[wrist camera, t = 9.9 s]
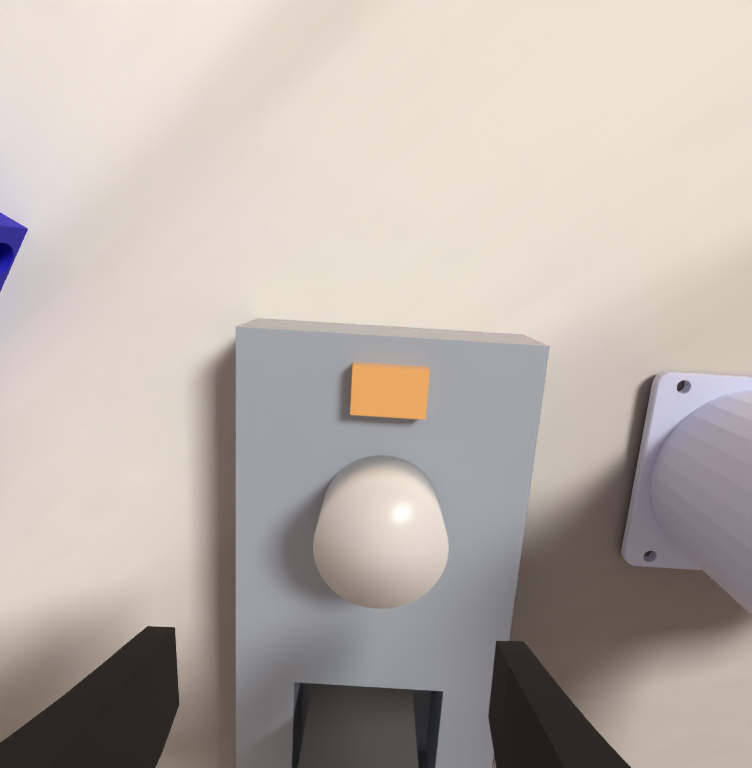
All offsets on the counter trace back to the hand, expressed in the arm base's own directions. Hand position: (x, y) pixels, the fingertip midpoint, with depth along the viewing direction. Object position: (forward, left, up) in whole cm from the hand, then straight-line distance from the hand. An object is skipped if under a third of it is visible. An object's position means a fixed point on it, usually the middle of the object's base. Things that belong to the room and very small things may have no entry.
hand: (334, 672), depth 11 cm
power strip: (-1, +4, -9) cm, 10 cm away
